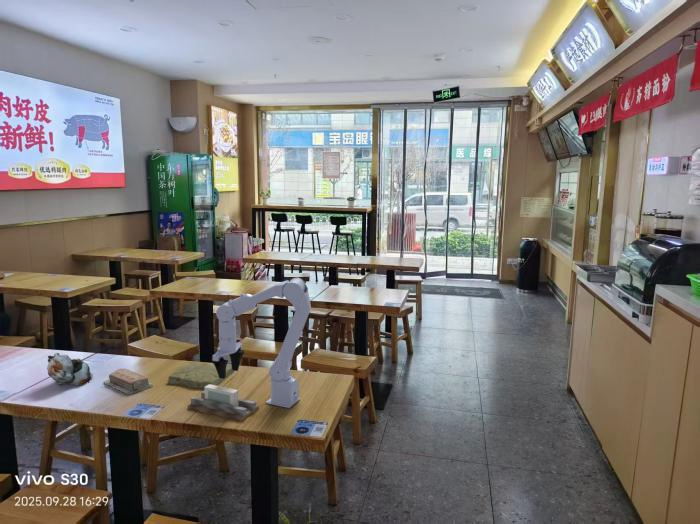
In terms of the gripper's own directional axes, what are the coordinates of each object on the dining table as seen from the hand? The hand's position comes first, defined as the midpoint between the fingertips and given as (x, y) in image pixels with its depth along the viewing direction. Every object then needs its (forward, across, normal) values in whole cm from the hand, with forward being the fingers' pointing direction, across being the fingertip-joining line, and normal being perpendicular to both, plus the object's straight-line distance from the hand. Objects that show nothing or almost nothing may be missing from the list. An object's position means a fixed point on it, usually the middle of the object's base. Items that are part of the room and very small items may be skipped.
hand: (228, 374), depth 167 cm
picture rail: (+9, +7, +2) cm, 12 cm away
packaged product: (+10, +5, -43) cm, 44 cm away
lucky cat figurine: (+10, +12, -64) cm, 66 cm away
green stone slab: (+10, -12, -22) cm, 27 cm away
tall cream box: (+8, +7, +2) cm, 11 cm away
